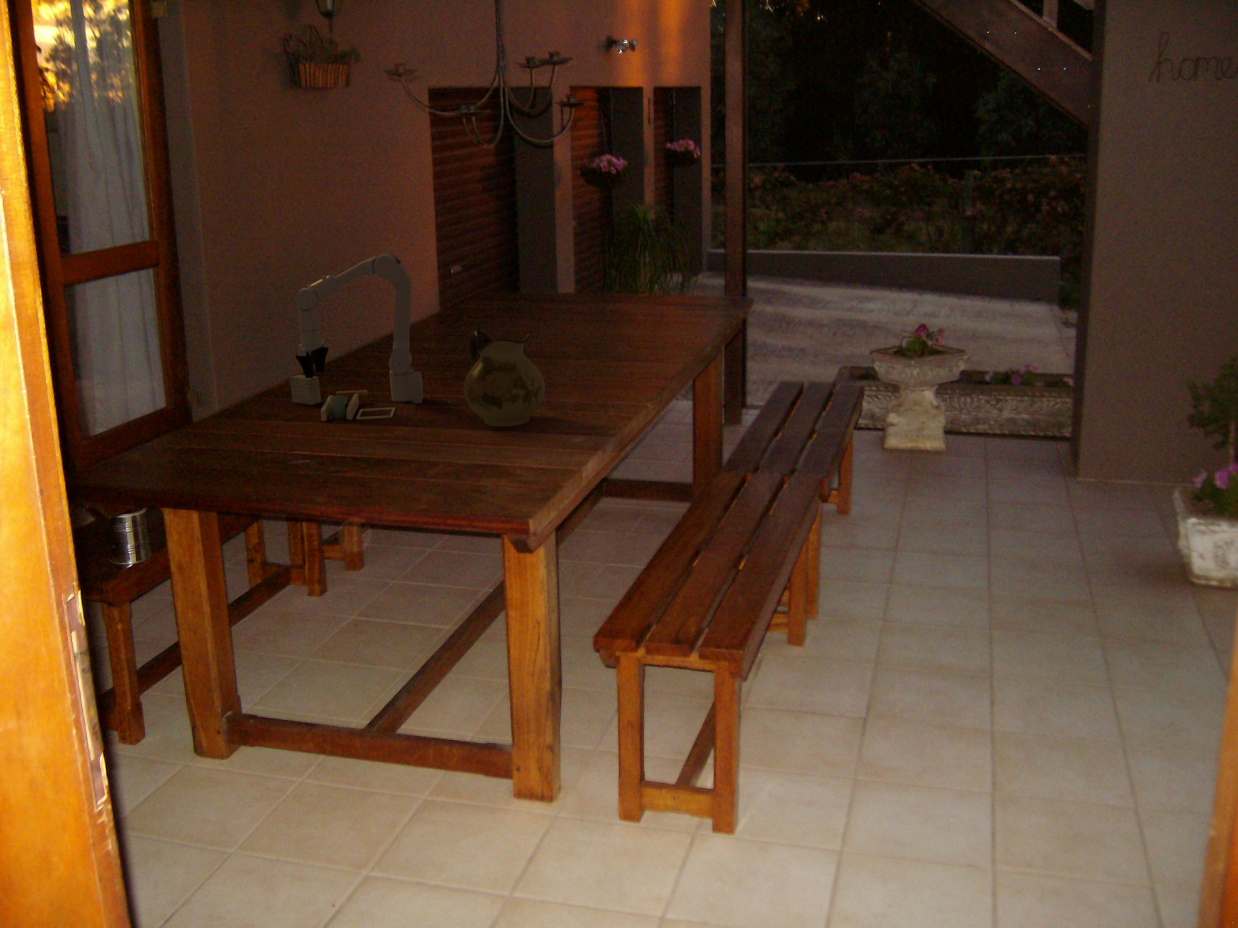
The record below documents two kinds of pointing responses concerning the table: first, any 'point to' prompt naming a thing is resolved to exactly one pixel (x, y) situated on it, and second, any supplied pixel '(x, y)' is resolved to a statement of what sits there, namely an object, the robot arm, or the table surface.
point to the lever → (346, 394)
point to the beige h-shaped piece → (350, 409)
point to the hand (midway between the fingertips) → (314, 375)
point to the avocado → (337, 406)
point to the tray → (375, 416)
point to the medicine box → (305, 390)
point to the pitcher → (502, 381)
